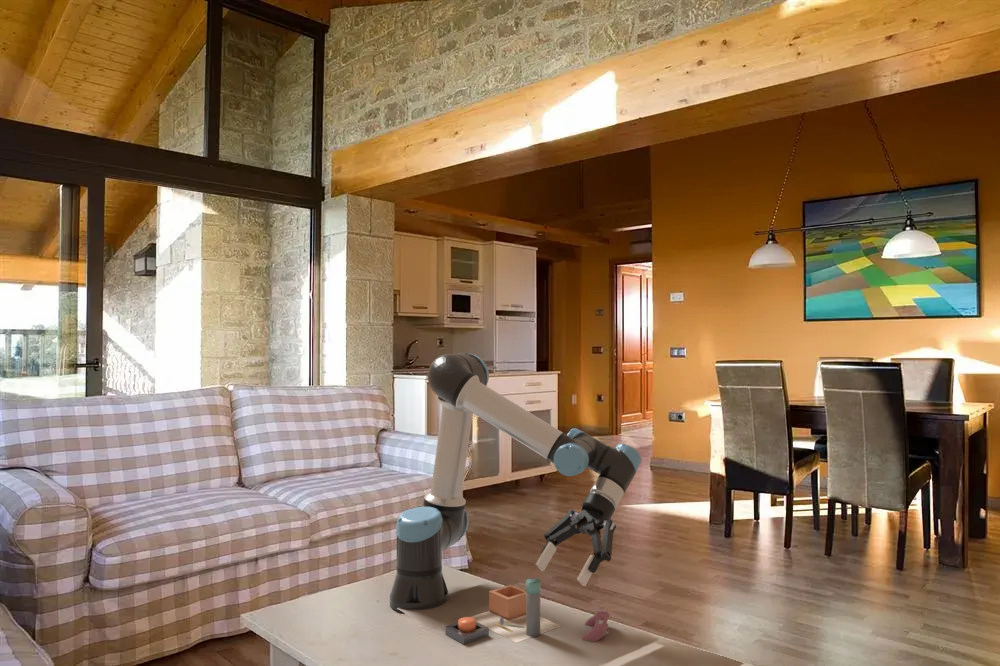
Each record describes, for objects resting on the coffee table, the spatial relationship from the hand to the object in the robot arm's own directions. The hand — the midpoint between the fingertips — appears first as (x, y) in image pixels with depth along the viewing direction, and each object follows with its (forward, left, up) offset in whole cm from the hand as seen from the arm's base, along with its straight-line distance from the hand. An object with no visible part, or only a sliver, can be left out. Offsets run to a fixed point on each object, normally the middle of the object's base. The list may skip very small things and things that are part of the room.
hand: (559, 575), depth 163 cm
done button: (-10, -19, -11) cm, 24 cm away
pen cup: (-14, -3, -12) cm, 19 cm away
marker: (-1, -7, -12) cm, 14 cm away
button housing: (-10, -19, -13) cm, 25 cm away
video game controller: (+7, +4, -13) cm, 16 cm away
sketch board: (-9, -6, -13) cm, 17 cm away
